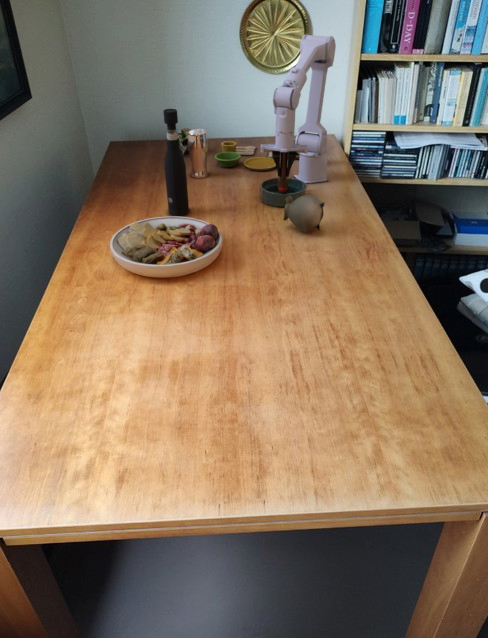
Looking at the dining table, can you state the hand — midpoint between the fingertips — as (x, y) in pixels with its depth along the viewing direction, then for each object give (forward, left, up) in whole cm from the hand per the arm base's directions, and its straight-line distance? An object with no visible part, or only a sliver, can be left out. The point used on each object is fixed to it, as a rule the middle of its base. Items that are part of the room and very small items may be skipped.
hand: (283, 175), depth 174 cm
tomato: (-3, -6, -7) cm, 10 cm away
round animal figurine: (+1, +21, -9) cm, 23 cm away
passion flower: (+20, -58, -9) cm, 62 cm away
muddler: (0, 0, -3) cm, 3 cm away
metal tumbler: (+20, -33, -9) cm, 39 cm away
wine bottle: (+34, -3, -9) cm, 35 cm away
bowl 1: (+43, +25, -9) cm, 51 cm away
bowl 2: (-1, -3, -9) cm, 9 cm away
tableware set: (-10, -40, -9) cm, 42 cm away
